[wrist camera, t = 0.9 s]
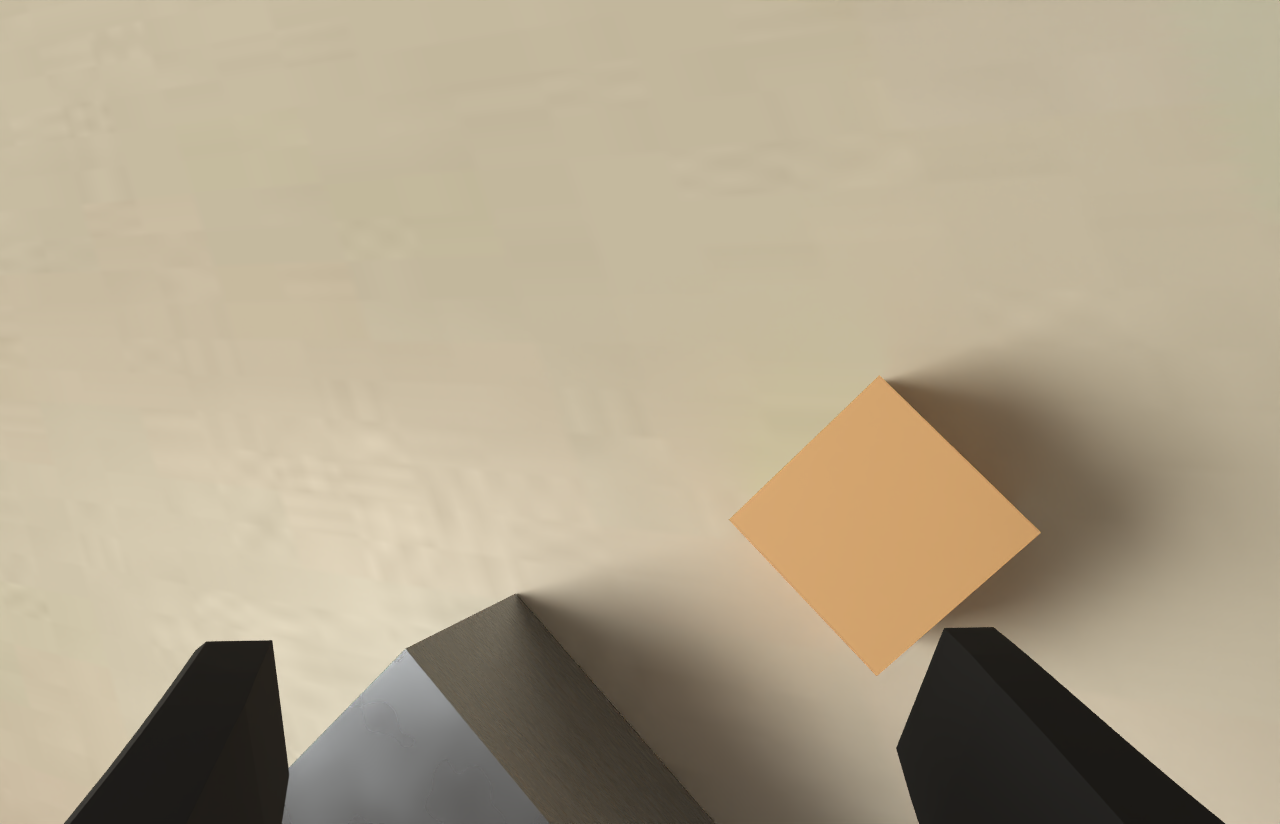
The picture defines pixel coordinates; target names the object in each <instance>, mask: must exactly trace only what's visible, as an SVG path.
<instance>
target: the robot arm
mask: <svg viewBox="0 0 1280 824" xmlns="http://www.w3.org/2000/svg"><path fill="white" fill-rule="evenodd" d="M896 749H897V752H898V756H899V759H900V763H901V766H902V770H903V773H904V776H905V780H906V783H907V787H908V790H909V794H910V797H911V800H912V803H913V806H914V810H915V813H916V816H917V819H918V822H919V824H1225V823H1224V822H1223V821H1221V820H1220V819H1219V818H1218V817H1217V816H1215V815H1214V814H1213V813H1212V812H1210V811H1209V810H1208V809H1207V808H1205V807H1204V806H1203V805H1202V804H1201V803H1199V802H1198V801H1197V800H1196V799H1194V798H1193V797H1192V796H1191V795H1190V794H1188V793H1187V792H1186V791H1185V790H1184V789H1182V788H1181V787H1180V786H1179V785H1178V784H1176V783H1175V782H1174V781H1173V780H1172V779H1170V778H1169V777H1168V776H1167V775H1166V774H1164V773H1163V772H1162V771H1161V770H1160V769H1159V768H1157V767H1156V766H1155V765H1154V764H1153V763H1152V762H1150V761H1149V760H1148V759H1147V758H1146V757H1144V756H1143V755H1142V754H1141V753H1140V752H1139V751H1137V750H1136V749H1135V748H1134V747H1133V746H1132V745H1130V744H1129V743H1128V742H1127V741H1126V740H1125V739H1123V738H1122V737H1121V736H1120V735H1119V734H1118V733H1117V732H1115V731H1114V730H1113V729H1112V728H1111V727H1110V726H1108V725H1107V724H1106V723H1105V722H1104V721H1103V720H1102V719H1100V718H1099V717H1098V716H1097V715H1096V714H1095V713H1093V712H1092V711H1091V710H1090V709H1089V708H1088V707H1087V706H1085V705H1084V704H1083V703H1082V702H1081V701H1080V700H1079V699H1077V698H1076V697H1075V696H1074V695H1073V694H1072V693H1071V692H1069V691H1068V690H1067V689H1066V688H1065V687H1064V686H1063V685H1061V684H1060V683H1059V682H1058V681H1057V680H1056V679H1054V678H1053V677H1052V676H1051V675H1050V674H1049V673H1048V672H1046V671H1045V670H1044V669H1043V668H1042V667H1041V666H1039V665H1038V664H1037V663H1036V662H1035V661H1034V660H1032V659H1031V658H1030V657H1029V656H1028V655H1027V654H1025V653H1024V652H1023V651H1022V650H1021V649H1019V648H1018V647H1017V646H1016V645H1015V644H1013V643H1012V642H1011V641H1010V640H1009V639H1007V638H1006V637H1005V636H1004V635H1002V634H1001V633H1000V632H999V631H997V630H996V629H995V628H994V627H980V628H944V630H943V632H942V635H941V637H940V640H939V642H938V645H937V647H936V650H935V652H934V655H933V657H932V660H931V662H930V665H929V667H928V670H927V672H926V675H925V677H924V680H923V682H922V685H921V687H920V690H919V692H918V695H917V697H916V700H915V702H914V705H913V707H912V710H911V712H910V715H909V717H908V720H907V722H906V725H905V727H904V730H903V733H902V735H901V738H900V740H899V743H898V745H897V748H896ZM288 780H289V769H288V761H287V753H286V745H285V737H284V729H283V721H282V714H281V706H280V698H279V690H278V682H277V674H276V666H275V659H274V651H273V643H272V640H269V641H214V642H205V643H204V644H203V645H202V646H200V647H199V648H198V649H197V650H195V652H194V653H193V655H192V656H191V658H190V659H189V660H188V662H187V663H186V665H185V666H184V668H183V669H182V671H181V672H180V673H179V675H178V676H177V678H176V679H175V680H174V682H173V683H172V685H171V686H170V687H169V689H168V690H167V691H166V693H165V694H164V696H163V697H162V698H161V700H160V701H159V702H158V704H157V705H156V707H155V708H154V709H153V711H152V712H151V713H150V715H149V716H148V717H147V719H146V720H145V721H144V723H143V724H142V725H141V727H140V728H139V729H138V731H137V732H136V733H135V735H134V736H133V737H132V739H131V740H130V741H129V742H128V744H127V745H126V746H125V748H124V749H123V750H122V752H121V753H120V754H119V756H118V757H117V758H116V759H115V761H114V762H113V763H112V765H111V766H110V767H109V769H108V770H107V771H106V772H105V774H104V775H103V776H102V777H101V779H100V780H99V781H98V782H97V784H96V785H95V786H94V787H93V788H92V790H91V791H90V792H89V793H88V795H87V796H86V797H85V798H84V800H83V801H82V802H81V803H80V805H79V806H78V807H77V808H76V809H75V811H74V812H73V813H72V814H71V816H70V817H69V818H68V819H67V821H66V822H65V823H64V824H282V819H283V813H284V806H285V800H286V793H287V787H288Z"/></svg>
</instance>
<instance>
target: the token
mask: <svg viewBox="0 0 1280 824" xmlns="http://www.w3.org/2000/svg"><path fill="white" fill-rule="evenodd" d="M729 520H730V521H731V522H732V524H733V525H734V526H735V527H736V528H737V529H738V530H739V531H740V532H741V533H742V534H743V535H744V536H745V537H746V538H747V539H748V540H749V542H750V543H751V544H752V545H753V546H754V547H755V548H756V549H757V550H758V551H759V552H760V553H761V554H762V555H763V556H764V557H765V558H766V560H767V561H768V562H769V563H770V564H771V565H772V566H773V567H774V568H775V569H776V570H777V571H778V572H779V573H780V574H781V575H782V576H783V578H784V579H785V580H786V581H787V582H788V583H789V584H790V585H791V586H792V587H793V588H794V589H795V590H796V591H797V592H798V593H799V594H800V596H801V597H802V598H803V599H804V600H805V601H806V602H807V603H808V604H809V605H810V606H811V607H812V608H813V609H814V610H815V611H816V612H817V613H818V615H819V616H820V617H821V618H822V619H823V620H824V621H825V622H826V623H827V624H828V625H829V626H830V627H831V628H832V629H833V630H834V631H835V633H836V634H837V635H838V636H839V637H840V638H841V639H842V640H843V641H844V642H845V643H846V644H847V645H848V646H849V647H850V648H851V649H852V651H853V652H854V653H855V654H856V655H857V656H858V657H859V658H860V659H861V660H862V661H863V662H864V663H865V664H866V665H867V666H868V667H869V669H870V670H871V671H872V672H873V673H874V674H875V675H876V676H877V675H878V674H880V673H881V672H882V671H883V670H884V669H885V668H886V667H888V666H889V665H890V664H891V663H892V662H893V661H895V660H896V659H897V658H898V657H899V656H900V655H901V654H903V653H904V652H905V651H906V650H907V649H908V648H909V647H911V646H912V645H913V644H914V643H915V642H916V641H917V640H919V639H920V638H921V637H922V636H923V635H924V634H925V633H927V632H928V631H929V630H930V629H931V628H932V627H933V626H935V625H936V624H937V623H938V622H939V621H940V620H941V619H943V618H944V617H945V616H946V615H947V614H948V613H949V612H951V611H952V610H953V609H954V608H955V607H956V606H958V605H959V604H960V603H961V602H962V601H963V600H964V599H966V598H967V597H968V596H969V595H970V594H971V593H972V592H974V591H975V590H976V589H977V588H978V587H979V586H980V585H982V584H983V583H984V582H985V581H986V580H987V579H988V578H990V577H991V576H992V575H993V574H994V573H995V572H996V571H998V570H999V569H1000V568H1001V567H1002V566H1003V565H1004V564H1006V563H1007V562H1008V561H1009V560H1010V559H1011V558H1012V557H1014V556H1015V555H1016V554H1017V553H1018V552H1019V551H1021V550H1022V549H1023V548H1024V547H1025V546H1026V545H1027V544H1029V543H1030V542H1031V541H1032V540H1033V539H1034V538H1035V537H1037V536H1038V535H1039V534H1040V533H1041V532H1040V531H1039V530H1038V529H1037V528H1036V527H1035V526H1034V525H1033V524H1032V523H1031V522H1030V521H1029V520H1028V519H1027V518H1025V517H1024V516H1023V515H1022V514H1021V513H1020V512H1019V511H1018V510H1017V509H1016V508H1015V507H1014V506H1013V505H1012V504H1011V503H1010V502H1009V501H1008V500H1007V499H1006V498H1005V497H1004V496H1003V495H1002V494H1001V493H1000V492H999V491H998V490H997V489H996V488H995V487H994V486H993V485H992V484H991V483H990V482H989V481H987V480H986V479H985V478H984V477H983V476H982V475H981V474H980V473H979V472H978V471H977V470H976V469H975V468H974V467H973V466H972V465H971V464H970V463H969V462H968V461H967V460H966V459H965V458H964V457H963V456H962V455H961V454H960V453H959V452H958V451H957V450H956V449H955V448H954V447H953V446H952V445H950V444H949V443H948V442H947V441H946V440H945V439H944V438H943V437H942V436H941V435H940V434H939V433H938V432H937V431H936V430H935V429H934V428H933V427H932V426H931V425H930V424H929V423H928V422H927V421H926V420H925V419H924V418H923V417H922V416H921V415H920V414H919V413H918V412H917V411H916V410H915V409H914V408H912V407H911V406H910V405H909V404H908V403H907V402H906V401H905V400H904V399H903V398H902V397H901V396H900V395H899V394H898V393H897V392H896V391H895V390H894V389H893V388H892V387H891V386H890V385H889V384H888V383H887V382H886V381H885V380H884V379H883V378H882V377H881V376H880V375H879V376H878V377H877V378H876V379H875V380H874V381H873V382H872V383H871V384H870V385H869V386H868V387H867V388H866V389H865V390H864V391H863V392H862V393H861V394H859V395H858V396H857V397H856V398H855V399H854V400H853V401H852V402H851V403H850V404H849V405H848V406H847V407H846V408H845V409H844V410H843V411H842V412H841V413H840V414H839V415H838V416H837V417H835V418H834V419H833V420H832V421H831V422H830V423H829V424H828V425H827V426H826V427H825V428H824V429H823V430H822V431H821V432H820V433H819V434H818V435H817V436H816V437H815V438H814V439H813V440H812V441H810V442H809V443H808V444H807V445H806V446H805V447H804V448H803V449H802V450H801V451H800V452H799V453H798V454H797V455H796V456H795V457H794V458H793V459H792V460H791V461H790V462H789V463H788V464H787V465H785V466H784V467H783V468H782V469H781V470H780V471H779V472H778V473H777V474H776V475H775V476H774V477H773V478H772V479H771V480H770V481H769V482H768V483H767V484H766V485H765V486H764V487H763V488H761V489H760V490H759V491H758V492H757V493H756V494H755V495H754V496H753V497H752V498H751V499H750V500H749V501H748V502H747V503H746V504H745V505H744V506H743V507H742V508H741V509H740V510H739V511H738V512H736V513H735V514H734V515H733V516H732V517H731V518H730V519H729Z"/></svg>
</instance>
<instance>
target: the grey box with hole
mask: <svg viewBox="0 0 1280 824" xmlns="http://www.w3.org/2000/svg"><path fill="white" fill-rule="evenodd" d="M288 769H289V780H288V787H287V793H286V800H285V806H284V813H283V819H282V824H715V823H714V822H713V821H712V820H711V818H710V817H709V816H708V815H707V814H706V813H705V811H704V810H703V809H702V808H701V807H700V806H699V805H698V803H697V802H696V801H695V800H694V799H693V798H692V796H691V795H690V794H689V793H688V792H687V791H686V790H685V788H684V787H683V786H682V785H681V784H680V783H679V781H678V780H677V779H676V778H675V777H674V776H673V775H672V773H671V772H670V771H669V770H668V769H667V768H666V767H665V765H664V764H663V763H662V762H661V761H660V760H659V758H658V757H657V756H656V755H655V754H654V753H653V752H652V750H651V749H650V748H649V747H648V746H647V745H646V743H645V742H644V741H643V740H642V739H641V738H640V737H639V735H638V734H637V733H636V732H635V731H634V730H633V728H632V727H631V726H630V725H629V724H628V723H627V722H626V720H625V719H624V718H623V717H622V716H621V715H620V713H619V712H618V711H617V710H616V709H615V708H614V707H613V705H612V704H611V703H610V702H609V701H608V700H607V698H606V697H605V696H604V695H603V694H602V693H601V692H600V690H599V689H598V688H597V687H596V686H595V685H594V683H593V682H592V681H591V680H590V679H589V678H588V677H587V675H586V674H585V673H584V672H583V671H582V670H581V669H580V667H579V666H578V665H577V664H576V663H575V662H574V660H573V659H572V658H571V657H570V656H569V655H568V654H567V652H566V651H565V650H564V649H563V648H562V647H561V645H560V644H559V643H558V642H557V641H556V640H555V639H554V637H553V636H552V635H551V634H550V633H549V632H548V630H547V629H546V628H545V627H544V626H543V625H542V624H541V622H540V621H539V620H538V619H537V618H536V617H535V615H534V614H533V613H532V612H531V611H530V610H529V609H528V607H527V606H526V605H525V604H524V603H523V602H522V600H521V599H520V598H519V597H518V596H517V595H516V594H514V595H512V596H510V597H508V598H506V599H504V600H502V601H500V602H498V603H496V604H494V605H492V606H490V607H488V608H486V609H484V610H482V611H480V612H478V613H476V614H474V615H472V616H470V617H468V618H466V619H464V620H462V621H460V622H458V623H456V624H454V625H452V626H450V627H448V628H446V629H444V630H442V631H440V632H438V633H436V634H434V635H432V636H430V637H428V638H426V639H424V640H422V641H420V642H418V643H416V644H414V645H412V646H410V647H408V648H406V649H405V650H404V651H403V652H402V653H401V654H400V655H399V656H398V657H397V658H396V659H395V660H394V661H393V662H392V663H391V664H390V665H389V666H388V667H387V668H386V669H385V670H384V671H383V672H382V673H381V674H380V675H379V676H378V677H377V678H376V679H375V680H374V681H373V682H372V683H371V684H370V685H369V687H368V688H367V689H366V690H365V691H364V692H363V693H362V694H361V695H360V696H359V697H358V698H357V699H356V700H355V701H354V702H353V703H352V704H351V705H350V706H349V707H348V708H347V709H346V710H345V711H344V712H343V713H342V714H341V715H340V716H339V717H338V718H337V719H336V720H335V721H334V722H333V723H332V724H331V725H330V726H329V727H328V728H327V729H326V730H325V731H324V732H323V734H322V735H321V736H320V737H319V738H318V739H317V740H316V741H315V742H314V743H313V744H312V745H311V746H310V747H309V748H308V749H307V750H306V751H305V752H304V753H303V754H302V755H301V756H300V757H299V758H298V759H297V760H296V761H295V762H294V763H293V764H292V765H291V766H290V767H289V768H288Z"/></svg>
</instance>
